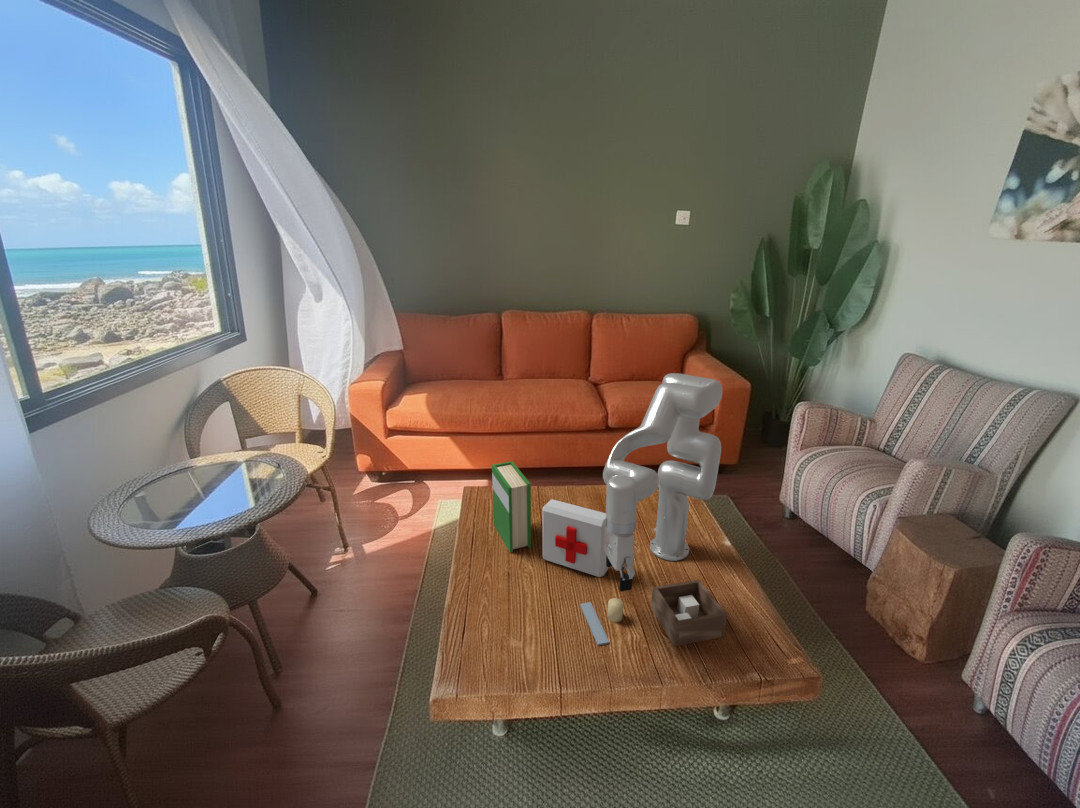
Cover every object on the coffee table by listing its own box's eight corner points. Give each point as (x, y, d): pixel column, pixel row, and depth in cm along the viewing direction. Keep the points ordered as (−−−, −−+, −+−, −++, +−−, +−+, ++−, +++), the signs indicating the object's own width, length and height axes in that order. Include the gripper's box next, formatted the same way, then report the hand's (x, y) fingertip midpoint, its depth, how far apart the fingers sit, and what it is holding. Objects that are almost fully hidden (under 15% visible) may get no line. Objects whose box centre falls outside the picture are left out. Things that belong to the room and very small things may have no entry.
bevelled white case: (538, 563, 163) (538, 508, 156) (550, 549, 170) (550, 496, 163) (600, 583, 154) (603, 525, 147) (610, 568, 160) (613, 512, 154)
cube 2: (672, 627, 136) (673, 615, 134) (686, 624, 136) (687, 612, 135) (679, 638, 132) (681, 626, 131) (693, 635, 133) (695, 623, 131)
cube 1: (677, 608, 142) (678, 597, 141) (690, 606, 143) (691, 594, 142) (684, 619, 138) (685, 607, 137) (697, 616, 139) (699, 604, 138)
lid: (580, 607, 145) (580, 589, 143) (629, 598, 148) (630, 580, 146) (597, 647, 131) (598, 628, 129) (651, 637, 134) (653, 618, 132)
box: (650, 610, 143) (652, 587, 140) (696, 602, 146) (699, 579, 143) (674, 649, 130) (676, 623, 127) (723, 639, 133) (727, 614, 130)
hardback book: (531, 547, 171) (530, 483, 163) (510, 553, 168) (508, 488, 160) (513, 521, 186) (512, 461, 178) (494, 525, 183) (491, 464, 175)
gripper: (595, 506, 137) (594, 559, 143) (619, 545, 121) (616, 603, 127) (621, 502, 138) (619, 555, 144) (648, 540, 122) (645, 597, 129)
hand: (618, 577), depth 136 cm, fingers open, 9 cm apart
